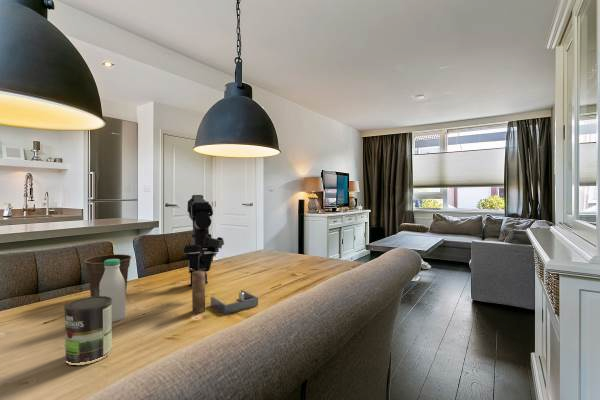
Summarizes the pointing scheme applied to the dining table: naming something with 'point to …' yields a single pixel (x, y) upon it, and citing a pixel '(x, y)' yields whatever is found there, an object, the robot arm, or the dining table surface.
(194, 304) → the peg
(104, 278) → the milk bottle
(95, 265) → the plant pot
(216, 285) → the dining table surface
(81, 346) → the coffee can
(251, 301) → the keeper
